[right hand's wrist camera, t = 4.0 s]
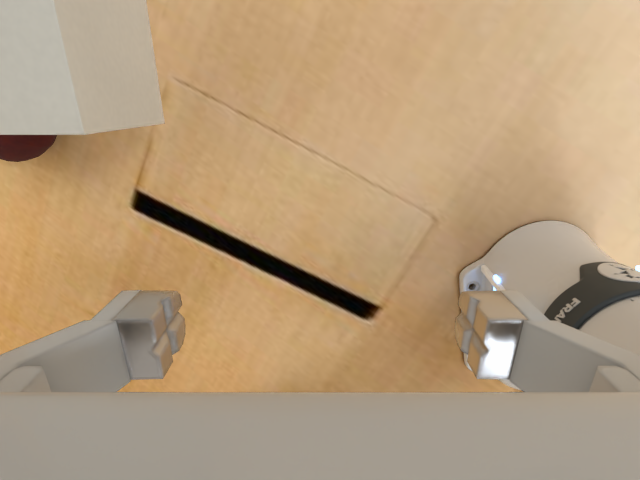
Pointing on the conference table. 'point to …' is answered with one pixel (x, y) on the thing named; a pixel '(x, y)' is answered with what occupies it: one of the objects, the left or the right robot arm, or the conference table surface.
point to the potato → (24, 146)
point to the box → (76, 67)
